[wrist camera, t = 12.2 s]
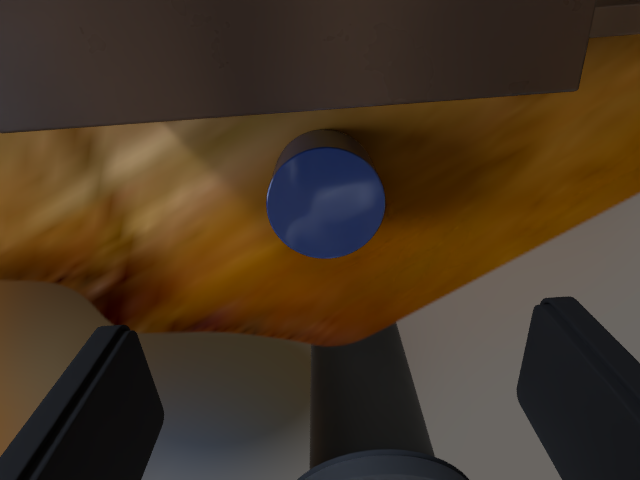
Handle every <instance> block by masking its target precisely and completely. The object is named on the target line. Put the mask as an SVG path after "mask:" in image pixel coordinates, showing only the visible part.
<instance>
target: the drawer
mask: <svg viewBox="0 0 640 480" xmlns="http://www.w3.org/2000/svg"><path fill="white" fill-rule="evenodd" d="M635 34H640V0H597V1H596V6H595V11H594V16H593V21H592V26H591V30H590V35H589V38H595V37H608V36H622V35H635Z"/></svg>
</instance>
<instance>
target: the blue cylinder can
mask: <svg viewBox="0 0 640 480" xmlns="http://www.w3.org/2000/svg"><path fill="white" fill-rule="evenodd" d="M385 204H386V200H385V192H384V187H383V185H382V182H381V179H380V177H379V175H378V173H377V171H376V169H375V167H374V165H373V163H372V160H371V158H370V156H369V155H368V153H367V151H366V150H365V149H364V147H363V146H362V145H361V144H360V143H359V142H358V141H356V140H355V139H354V138H352V137H351V136H349V135H347V134H345V133H342V132H339V131H335V130H314V131H310V132H307V133H305V134H302V135H300V136H298V137H297V138H295V139H294V140H293V141H291V142H290V143H289V144H288V145H287V146H286V147H285V148H284V150H283V151H282V152H281V154H280V156H279V158H278V160H277V163H276V165H275V168H274V172H273V175H272V178H271V181H270V184H269V188H268V192H267V198H266V209H267V215H268V219H269V221H270V224H271V226H272V228H273V230H274V231H275V233H276V234H277V236H278V237H279V238H280V239H281V240H282V241H283V242H284V243H285V244H286V245H287V246H288V247H290V248H291V249H293V250H295V251H297V252H299V253H301V254H303V255H306V256H310V257H314V258H337V257H341V256H345V255H347V254H350V253H352V252H354V251H356V250H358V249H359V248H361V247H362V246H364V245H365V244H366V243H367V242H368V241H369V240H370V239H371V238H372V237H373V236H374V234H375V233H376V231H377V230H378V228H379V226H380V224H381V222H382V219H383V217H384V212H385Z"/></svg>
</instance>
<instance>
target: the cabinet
mask: <svg viewBox="0 0 640 480" xmlns="http://www.w3.org/2000/svg"><path fill="white" fill-rule="evenodd" d="M596 1H597V0H0V133H14V132H28V131H41V130H55V129H69V128H82V127H96V126H109V125H123V124H137V123H150V122H164V121H177V120H191V119H205V118H218V117H232V116H246V115H259V114H273V113H286V112H300V111H314V110H327V109H341V108H354V107H368V106H382V105H395V104H409V103H422V102H436V101H450V100H463V99H477V98H490V97H504V96H518V95H531V94H545V93H559V92H572V91H577V90H578V88H579V84H580V79H581V74H582V69H583V64H584V59H585V55H586V50H587V45H588V40H589V35H590V30H591V26H592V21H593V16H594V11H595V6H596Z"/></svg>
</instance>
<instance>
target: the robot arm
mask: <svg viewBox="0 0 640 480" xmlns="http://www.w3.org/2000/svg"><path fill="white" fill-rule="evenodd" d="M517 397H518V400H519V403H520V405H521V407H522V409H523V411H524V412H525V414H526V416H527V418H528V419H529V421H530V423H531V425H532V427H533V428H534V430H535V432H536V434H537V435H538V437H539V439H540V441H541V443H542V444H543V446H544V448H545V450H546V451H547V453H548V455H549V457H550V459H551V461H552V462H553V464H554V466H555V468H556V469H557V471H558V473H559V475H560V477H561V478H562V480H640V363H639V362H638V361H637V360H636V359H635V358H634V357H633V356H632V355H631V354H630V353H629V352H628V351H627V350H626V349H625V348H624V347H623V346H622V345H621V344H620V343H619V342H618V341H617V340H616V339H615V338H614V337H613V336H612V335H611V334H610V333H609V332H608V331H607V330H606V329H605V328H604V327H603V326H602V325H601V324H600V323H599V322H598V321H597V320H596V319H595V318H594V317H593V316H592V315H591V314H590V313H589V312H588V311H587V310H586V309H585V308H584V307H583V306H582V305H581V304H580V303H579V302H578V301H577V300H576V299H574V298H573V297H555V298H545V299H543V300H542V301H541V303H540V305H536V306H535V307H534V310H533V314H532V318H531V323H530V328H529V333H528V338H527V342H526V347H525V352H524V356H523V361H522V366H521V370H520V376H519V380H518V385H517ZM163 420H164V411H163V407H162V404H161V401H160V398H159V395H158V392H157V390H156V387H155V384H154V381H153V378H152V376H151V373H150V370H149V367H148V364H147V361H146V358H145V355H144V352H143V350H142V347H141V344H140V341H139V338H138V335H137V333H136V332H135V331H130V329H129V327H127V326H126V325H114V326H101V327H98V328H97V329H96V330H95V331H94V333H93V334H92V335H91V337H90V338H89V339H88V341H87V342H86V344H85V345H84V346H83V347H82V349H81V350H80V351H79V353H78V354H77V356H76V357H75V358H74V359H73V361H72V362H71V363H70V365H69V366H68V367H67V369H66V370H65V371H64V373H63V374H62V375H61V377H60V378H59V379H58V381H57V382H56V383H55V385H54V386H53V387H52V389H51V390H50V391H49V393H48V394H47V396H46V397H45V398H44V399H43V401H42V402H41V403H40V405H39V406H38V407H37V409H36V410H35V411H34V413H33V414H32V415H31V417H30V418H29V420H28V421H27V422H26V423H25V425H24V426H23V428H22V429H21V430H20V431H19V433H18V434H17V435H16V437H15V438H14V440H13V441H12V442H11V443H10V445H9V446H8V448H7V449H6V450H5V452H4V453H3V454H2V455H1V457H0V480H141V478H142V476H143V473H144V471H145V468H146V466H147V463H148V461H149V458H150V456H151V453H152V450H153V448H154V445H155V443H156V440H157V438H158V435H159V432H160V430H161V427H162V425H163Z"/></svg>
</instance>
